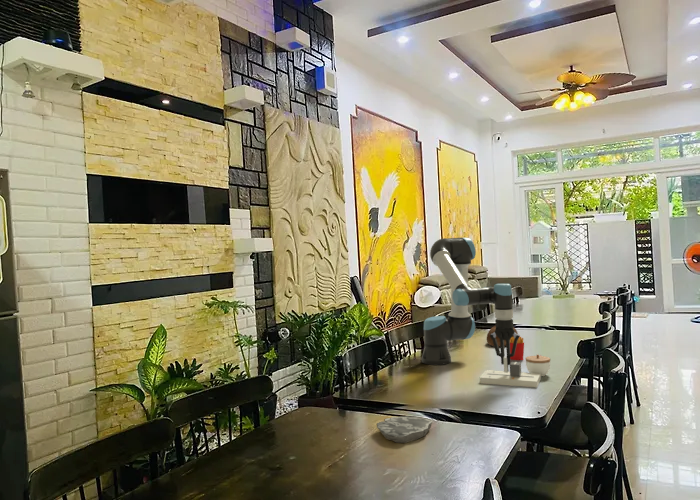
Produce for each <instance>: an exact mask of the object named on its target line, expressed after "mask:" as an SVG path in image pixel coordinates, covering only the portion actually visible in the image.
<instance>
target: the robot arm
mask: <svg viewBox="0 0 700 500" xmlns="http://www.w3.org/2000/svg"><path fill="white" fill-rule="evenodd" d="M429 257H430V260H431V262H432V264H434V266H436V267H437V268H438V269H439V270H440V273H441V274H442V276H443V277H444V279H445V280H446V281H447V283H448V284H449V286H450V291H451V292H450V294H451V296H450V297H451V299H450V309H451V310H450V312H449V313H448V315H447V316H448V317H446V316H444V315H435V316H431V317H427V318H426V319H425V320H424V321H423V337H424V338H423V341H424V347H423V348H424V349H423V352H422V357H421V363H422V364H425V365H430V366H431V365H433V366H435V365H436V366H437V365H438V366H439V365H448V364H450V363H451V362H452V356H451V354H450V350H449V349H448V342H450V341H460V340H462V341H464V340H468V339H471V338H472V337H473V335H474V334H475V330H476V323H475V319H474V318H473V317H472V316H471V313H469V311H468V310H469V306H476V305H489V304H494V317H495V326H496V329H495V332H494V333H493V334H491V335H490V337H491V339H492V340H493V344H494V346H493V347H494V350H495V354H496V356H497V357H500V362H501V366H502V365H503V371H504V373H508V372H510V369H509V366H510V363H511V362H512V360H511V359H510V357H513V356H514V355H515V350H516V346H517V341H518V338H519V337H521V335H520V334H519V333H518V334H516V333H515V331H514V329H513V327H514V319H513V318H514V315H513V314H514V312H513V290H512V285H511V284H510V283H496V284H494V285H493V286H484V287H474V288H471V287H470V285H469V281H468V280H469V266H470V265H471V264H472V261H473V260H474V259H475V257H476V246H475V244H474V242H473V240H472V239H471V238H469V237H449V238H447V237H446V238H444V237H443V238H440V239H437V240H436V241H435V242H434V243H433V244H432V246H431V248H430V252H429ZM496 335H497V336H498V338H499V339H500V348H499V347H498V343H497V340H496ZM513 335H514V338H515V339H514V343H513V348H512V352H511V354H510V339H511V337H512V336H513ZM504 340H506V346H504ZM505 348H506V353H505ZM505 354H506V356H505Z"/></svg>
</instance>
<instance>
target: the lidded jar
mask: <svg viewBox="0 0 700 500" xmlns="http://www.w3.org/2000/svg"><path fill="white" fill-rule="evenodd" d="M525 366H526V369H527V372H528V373H540V374H541V376H543V377H546V376H545V375H547V374H548V373H549V371H550V369H551V358H550V357H548V356H544V355H540V354H539V353H538V354H536V355H529V356H526V357H525Z"/></svg>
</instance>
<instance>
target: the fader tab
mask: <svg viewBox="0 0 700 500" xmlns="http://www.w3.org/2000/svg"><path fill="white" fill-rule="evenodd" d="M509 372H510V376H520V375H521V372H522V363H521V362H520V361H518V362H517V361H511V363H510V365H509Z"/></svg>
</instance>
